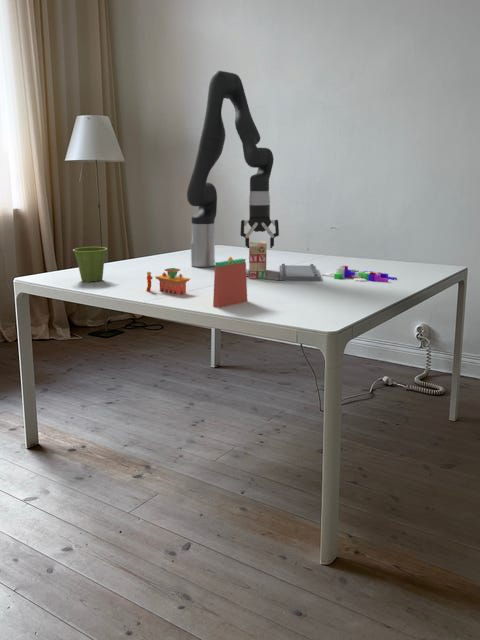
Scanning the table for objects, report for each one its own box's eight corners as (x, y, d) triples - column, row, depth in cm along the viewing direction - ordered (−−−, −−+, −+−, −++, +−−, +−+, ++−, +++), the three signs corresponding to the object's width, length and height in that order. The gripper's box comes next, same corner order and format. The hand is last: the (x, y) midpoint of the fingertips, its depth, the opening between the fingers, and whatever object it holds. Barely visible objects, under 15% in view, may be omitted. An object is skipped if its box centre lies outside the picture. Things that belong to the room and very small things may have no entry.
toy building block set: (217, 308, 180) (217, 259, 177) (141, 292, 204) (140, 248, 200) (247, 301, 189) (247, 255, 186) (171, 287, 213) (170, 245, 209)
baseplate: (280, 280, 224) (280, 273, 224) (279, 269, 250) (279, 263, 249) (320, 280, 224) (320, 274, 223) (314, 269, 249) (315, 263, 248)
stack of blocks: (250, 269, 248) (250, 238, 245) (266, 270, 248) (266, 238, 245) (248, 279, 228) (249, 245, 225) (266, 279, 227) (266, 245, 224)
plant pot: (80, 277, 230) (78, 246, 227) (112, 277, 229) (111, 246, 226) (70, 283, 218) (68, 250, 215) (103, 283, 217) (102, 251, 215)
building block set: (404, 278, 233) (405, 266, 232) (380, 286, 218) (381, 273, 217) (344, 271, 248) (344, 260, 247) (317, 278, 232) (318, 266, 231)
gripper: (239, 204, 228) (240, 249, 232) (279, 204, 227) (279, 249, 231) (240, 203, 235) (241, 247, 239) (278, 203, 235) (278, 246, 238)
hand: (259, 247), depth 235 cm, fingers open, 8 cm apart
